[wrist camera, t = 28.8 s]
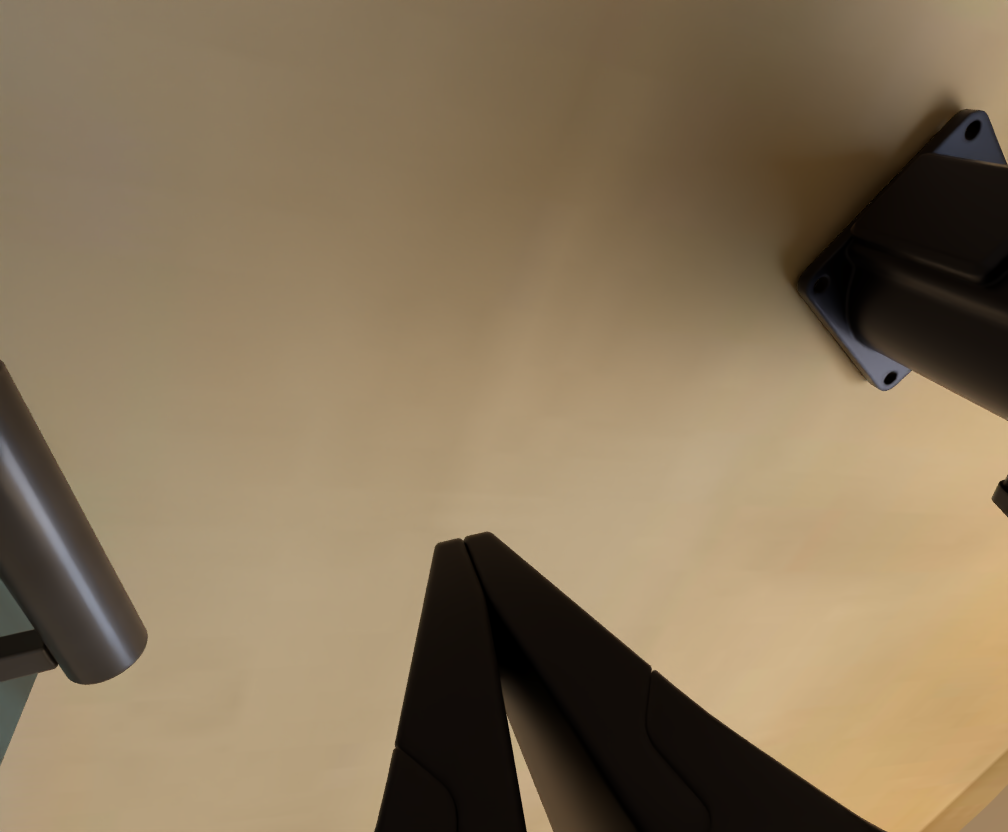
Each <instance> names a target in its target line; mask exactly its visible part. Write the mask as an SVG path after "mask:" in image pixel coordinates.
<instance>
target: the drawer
mask: <svg viewBox="0 0 1008 832" xmlns="http://www.w3.org/2000/svg"><path fill="white" fill-rule="evenodd" d="M147 639H148V634H147V630H146V628H145V626H144V625H143V623H142V621H141V619H140V617H139V615H138V613H137V611H136V610H135V608H134V606H133V604H132V602H131V600H130V598H129V596H128V595H127V593H126V591H125V589H124V587H123V585H122V583H121V582H120V580H119V578H118V576H117V574H116V572H115V570H114V568H113V567H112V565H111V563H110V561H109V559H108V557H107V555H106V553H105V552H104V550H103V548H102V546H101V544H100V542H99V540H98V538H97V537H96V535H95V533H94V531H93V529H92V527H91V525H90V523H89V522H88V520H87V518H86V516H85V514H84V512H83V510H82V509H81V507H80V505H79V503H78V501H77V499H76V497H75V495H74V494H73V492H72V490H71V488H70V486H69V484H68V482H67V480H66V479H65V477H64V475H63V473H62V471H61V469H60V467H59V465H58V464H57V462H56V460H55V458H54V456H53V454H52V452H51V451H50V449H49V447H48V445H47V443H46V441H45V439H44V437H43V436H42V434H41V432H40V430H39V428H38V426H37V424H36V422H35V421H34V419H33V417H32V415H31V413H30V411H29V409H28V407H27V406H26V404H25V402H24V400H23V398H22V396H21V394H20V392H19V391H18V389H17V387H16V385H15V383H14V381H13V379H12V378H11V376H10V374H9V372H8V370H7V368H6V366H5V364H4V363H3V362H2V361H1V360H0V765H1V763H2V760H3V758H4V755H5V753H6V750H7V748H8V746H9V743H10V741H11V738H12V736H13V733H14V731H15V728H16V726H17V723H18V721H19V719H20V716H21V714H22V711H23V709H24V706H25V704H26V701H27V699H28V696H29V694H30V692H31V689H32V687H33V684H34V682H35V679H36V677H37V674H38V673H40V672H44V671H48V670H52V669H55V668H56V667H57V666H58V664H59V666H60V667H61V669H62V670H63V671H64V673H65V674H66V676H67V677H68V679H70V680H71V681H73V682H75V683H78V684H83V685H90V684H96V683H100V682H104V681H106V680H109V679H111V678H113V677H115V676H117V675H119V674H121V673H122V672H124V671H125V670H126V669H128V668H129V667H130V666H131V665H132V664H134V663H135V661H136V660H137V659H138V658H139V657H140V656H141V654H142V653H143V651H144V649H145V647H146V644H147Z"/></svg>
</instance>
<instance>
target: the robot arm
mask: <svg viewBox="0 0 1008 832" xmlns="http://www.w3.org/2000/svg"><path fill="white" fill-rule="evenodd" d="M818 279H819V281H818V283H817V285H816V286H815V287H814V284H815V283H816V281H817V280H818ZM797 289H798V292H799V294H800V295H801V296H802V298H803V299H804V300H805V302H806V303H807V304H808V305H809V307H810V308H811V309H812V310H813V312H814V313H815V314H816V316H817V317H818V318H819V319H820V321H821V322H822V323H823V324H824V326H825V327H826V328H827V329H828V331H829V332H830V333H831V335H832V336H833V337H834V338H835V340H836V341H837V342H838V343H839V345H840V346H841V347H842V349H843V350H844V351H845V352H846V354H847V355H848V356H849V357H850V359H851V360H852V361H853V363H854V364H855V365H856V366H857V368H858V369H859V370H860V371H861V373H862V374H863V375H864V377H865V378H866V379H867V380H868V382H869V383H870V384H871V385H873V386H875V387H876V388H878V389H880V390H882V391H887V390H889V389H892V388H893V387H894V386H896V385H897V384H898V383H899V382H900V381H901V380H902V379H903V378H904V377H905V376H906V375H907V374H908V373H909V372H910V371H914V372H916V373H918V374H920V375H922V376H924V377H926V378H927V379H929V380H931V381H933V382H935V383H937V384H939V385H941V386H943V387H945V388H946V389H948V390H950V391H952V392H954V393H956V394H958V395H960V396H962V397H964V398H965V399H967V400H969V401H971V402H973V403H975V404H977V405H979V406H981V407H983V408H985V409H986V410H988V411H990V412H992V413H994V414H996V415H998V416H1000V417H1002V418H1004V419H1005V420H1007V421H1008V165H1007V163H1006V160H1005V158H1004V155H1003V153H1002V150H1001V148H1000V145H999V143H998V140H997V138H996V135H995V133H994V130H993V128H992V125H991V122H990V120H989V117H988V115H987V114H986V113H985V111H980V110H971V109H965V110H962V111H960V112H959V113H957V114H956V115H955V116H954V117H953V118H952V119H951V120H950V121H949V122H948V123H947V124H946V125H945V126H944V127H943V128H942V129H941V130H940V131H939V132H938V133H937V134H936V135H935V136H934V137H933V138H932V139H931V140H930V141H929V143H928V144H927V145H926V146H925V147H924V148H923V149H922V150H921V151H920V152H919V153H918V154H917V155H916V156H915V157H914V158H913V159H912V160H911V161H910V162H909V163H908V164H907V165H906V166H905V167H904V168H903V169H902V170H901V172H900V173H899V174H898V175H897V176H896V177H895V178H894V179H893V180H892V181H891V182H890V183H889V184H888V185H887V186H886V187H885V188H884V189H883V190H882V191H881V192H880V193H879V194H878V195H877V196H876V197H875V198H874V199H873V200H872V202H871V203H870V204H869V205H868V206H867V207H866V208H865V209H864V210H863V211H862V212H861V213H860V214H859V215H858V216H857V217H856V218H855V219H854V220H853V221H852V222H851V223H850V224H849V225H848V226H847V227H846V228H845V229H844V231H843V232H842V233H841V234H840V235H839V236H838V237H837V238H836V239H835V240H834V241H833V242H832V243H831V244H830V245H829V246H828V247H827V248H826V249H825V250H824V251H823V252H822V253H821V254H820V255H819V256H818V257H817V258H816V259H815V261H814V262H813V263H812V264H811V265H810V266H809V267H808V268H807V269H806V270H805V271H804V272H803V274H802V275H801V276H800V278H799V281H798V287H797ZM992 500H993V502H994V503H995V504H996V505H997V506H998V507H999V508H1000V509H1001V510H1002V512H1003V513H1004V514H1005V515H1006V516H1007V517H1008V475H1007V477H1006V479H1005V480H1002V481H1000V482H999V484H998V486H997V488H996V490H995V492H994V494H993V496H992ZM651 671H652V668H651V666H650V665H649V664H648V663H646V662H645V661H644V660H643V659H642V658H640V657H639V656H638V655H637V654H636V653H634V652H633V651H632V650H631V649H630V648H629V647H627V646H626V645H625V644H624V643H623V642H621V641H620V640H619V639H618V638H617V637H615V636H614V635H613V634H612V633H611V632H609V631H608V630H607V629H606V628H605V627H603V626H602V625H601V624H600V623H599V622H597V621H596V620H595V619H594V618H593V617H592V616H590V615H589V614H588V613H587V612H586V611H584V610H583V609H582V608H581V607H580V606H578V605H577V604H576V603H575V602H574V601H572V600H571V599H570V598H569V597H568V596H566V595H565V594H564V593H563V592H562V591H560V590H559V589H558V588H557V587H556V586H554V585H553V584H552V583H551V582H550V581H549V580H547V579H546V578H545V577H544V576H543V575H541V574H540V573H539V572H538V571H537V570H535V569H534V568H533V567H532V566H531V565H529V564H528V563H527V562H526V561H525V560H523V559H522V558H521V557H520V556H519V555H517V554H516V553H515V552H514V551H513V550H512V549H510V548H509V547H508V546H507V545H506V544H504V543H503V542H502V541H501V540H500V539H498V538H497V537H496V536H495V535H494V534H492V533H490V532H483V533H478V534H474V535H470V536H467V537H465V539H464V541H463V540H462V539H460V538H457V539H453V540H448V541H444V542H440V543H438V544H437V545H436V546H435V549H434V554H433V559H432V564H431V569H430V574H429V579H428V583H427V588H426V593H425V598H424V603H423V608H422V613H421V618H420V623H419V628H418V633H417V637H416V642H415V647H414V652H413V657H412V662H411V667H410V672H409V677H408V682H407V687H406V692H405V696H404V701H403V706H402V711H401V716H400V721H399V726H398V731H397V736H396V741H395V749H394V750H393V754H392V758H391V763H390V768H389V773H388V778H387V782H386V786H385V791H384V795H383V799H382V803H381V808H380V812H379V816H378V820H377V824H376V828H375V831H374V832H527V831H526V825H525V819H524V813H523V807H522V802H521V796H520V790H519V784H518V779H517V773H516V767H515V761H514V755H513V750H512V744H511V738H510V732H509V726H508V721H507V716H508V719H509V721H510V724H511V726H512V729H513V731H514V734H515V736H516V739H517V741H518V744H519V746H520V749H521V751H522V754H523V756H524V759H525V761H526V764H527V766H528V769H529V771H530V774H531V777H532V779H533V782H534V784H535V787H536V789H537V792H538V794H539V797H540V799H541V802H542V804H543V807H544V809H545V812H546V814H547V817H548V819H549V822H550V824H551V827H552V829H553V832H887V831H884V830H882V829H880V828H879V827H877V826H875V825H873V824H871V823H870V822H868V821H866V820H864V819H863V818H861V817H859V816H858V815H856V814H855V813H853V812H852V811H850V810H849V809H847V808H845V807H844V806H842V805H841V804H840V803H838V802H837V801H835V800H834V799H832V798H831V797H829V796H828V795H826V794H825V793H823V792H822V791H820V790H819V789H817V788H816V787H815V786H813V785H812V784H810V783H809V782H807V781H806V780H804V779H803V778H801V777H800V776H798V775H797V774H795V773H794V772H792V771H791V770H790V769H788V768H787V767H785V766H784V765H782V764H781V763H779V762H778V761H776V760H775V759H773V758H772V757H770V756H769V755H767V754H766V753H765V752H763V751H762V750H760V749H759V748H757V747H756V746H754V745H753V744H751V743H750V742H748V741H747V740H746V739H744V738H743V737H741V736H740V735H739V734H737V733H736V732H734V731H733V730H731V729H730V728H729V727H727V726H726V725H724V724H723V723H722V722H720V721H719V720H717V719H716V718H715V717H713V716H712V715H710V714H709V713H708V712H707V711H705V710H704V709H703V708H702V707H700V706H699V705H698V704H697V703H695V702H694V701H693V700H692V699H690V698H689V697H688V696H686V695H685V694H684V693H683V692H681V691H680V690H679V689H678V688H676V687H675V686H674V685H673V684H672V683H670V682H669V681H668V680H667V679H666V678H665V677H663V676H662V675H661V674H660V673H659V672H658V671H656V670H654V671H652V673H651ZM506 714H507V715H506Z"/></svg>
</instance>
